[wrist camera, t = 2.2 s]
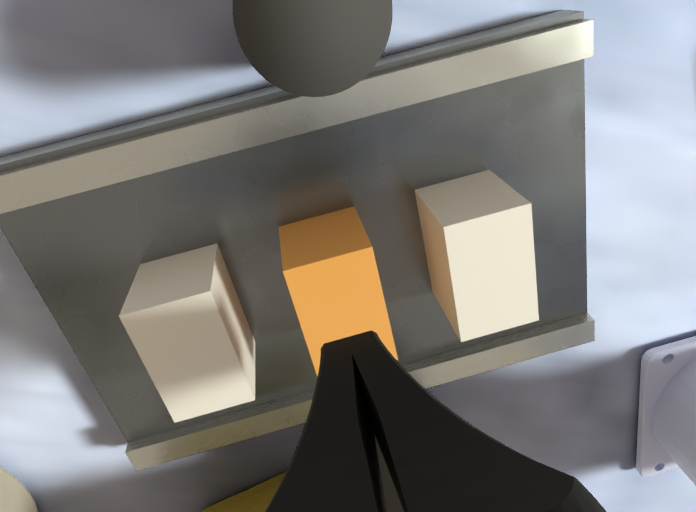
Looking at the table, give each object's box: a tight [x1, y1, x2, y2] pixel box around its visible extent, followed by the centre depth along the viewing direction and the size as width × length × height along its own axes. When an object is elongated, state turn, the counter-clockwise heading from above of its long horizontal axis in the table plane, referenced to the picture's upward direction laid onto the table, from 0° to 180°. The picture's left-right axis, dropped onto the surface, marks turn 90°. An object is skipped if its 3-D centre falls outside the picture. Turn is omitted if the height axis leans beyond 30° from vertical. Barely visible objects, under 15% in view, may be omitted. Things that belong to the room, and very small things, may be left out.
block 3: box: [415, 170, 539, 342], centre depth 17 cm, size 2×4×3 cm, turn 13°
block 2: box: [279, 206, 398, 377], centre depth 17 cm, size 2×4×3 cm, turn 13°
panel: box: [0, 10, 594, 471], centre depth 18 cm, size 18×12×2 cm, turn 103°
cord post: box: [233, 0, 392, 97], centre depth 13 cm, size 3×3×6 cm
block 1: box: [119, 244, 255, 423], centre depth 17 cm, size 2×4×3 cm, turn 13°
